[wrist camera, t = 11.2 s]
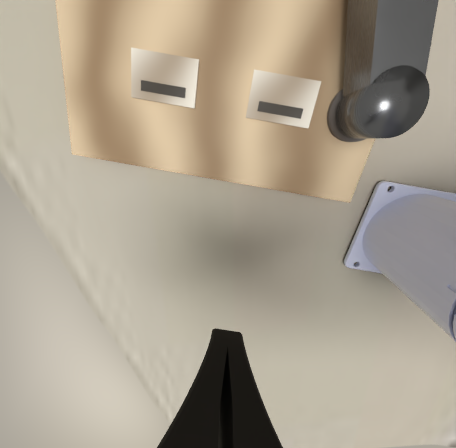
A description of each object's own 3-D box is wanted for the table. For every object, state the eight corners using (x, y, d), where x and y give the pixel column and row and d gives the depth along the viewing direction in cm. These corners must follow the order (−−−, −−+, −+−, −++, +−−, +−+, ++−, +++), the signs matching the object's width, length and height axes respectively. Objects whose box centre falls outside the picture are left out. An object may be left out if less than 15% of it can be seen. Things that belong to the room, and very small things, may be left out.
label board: (468, -133, 11) (509, -182, 9) (343, 198, 18) (353, 204, 16) (50, -211, 11) (15, -275, 9) (82, 153, 17) (66, 154, 16)
